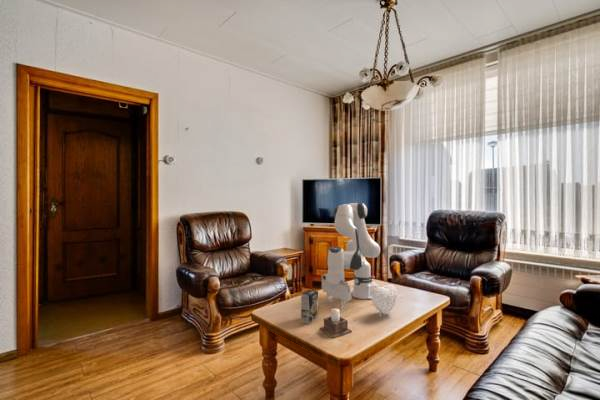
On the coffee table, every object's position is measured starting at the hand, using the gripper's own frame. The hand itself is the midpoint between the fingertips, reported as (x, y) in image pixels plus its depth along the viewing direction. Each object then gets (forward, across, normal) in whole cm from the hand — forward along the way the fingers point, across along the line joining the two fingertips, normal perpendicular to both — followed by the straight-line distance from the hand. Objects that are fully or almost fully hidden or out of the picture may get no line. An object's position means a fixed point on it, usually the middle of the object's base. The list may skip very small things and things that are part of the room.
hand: (336, 304), depth 156 cm
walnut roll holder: (+14, 0, 0) cm, 14 cm away
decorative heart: (+15, 0, -37) cm, 40 cm away
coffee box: (+14, +18, +4) cm, 23 cm away
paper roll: (+13, 0, +1) cm, 13 cm away
